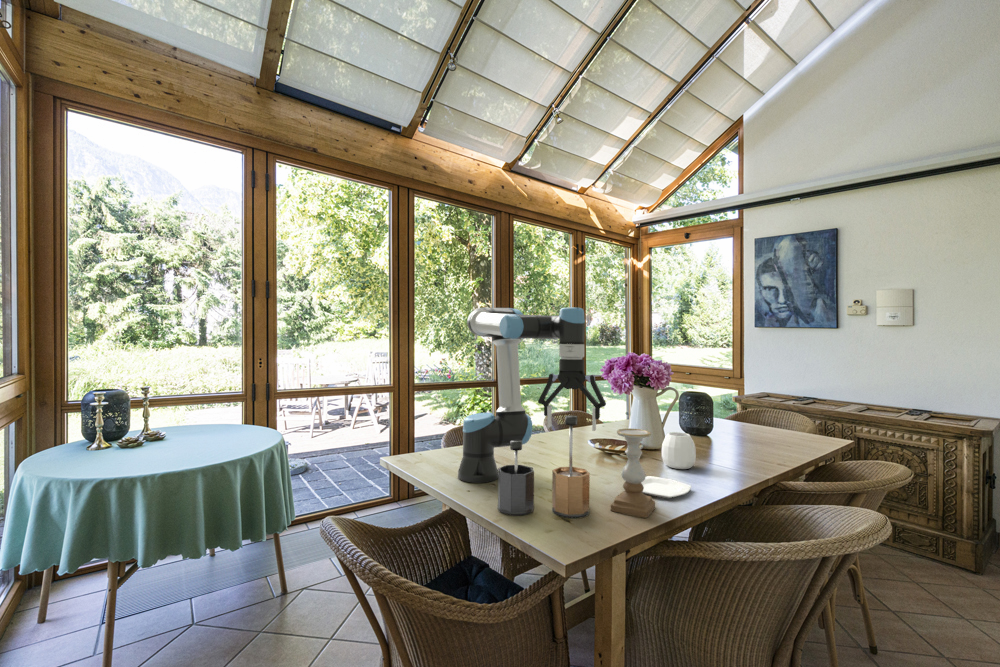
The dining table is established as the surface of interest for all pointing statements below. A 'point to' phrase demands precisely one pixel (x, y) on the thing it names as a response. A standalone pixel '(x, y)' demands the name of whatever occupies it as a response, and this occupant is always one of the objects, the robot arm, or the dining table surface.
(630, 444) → the candle holder
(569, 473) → the copper plunger
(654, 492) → the plate
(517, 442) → the steel plunger
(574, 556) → the dining table surface
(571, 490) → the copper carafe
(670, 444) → the cup
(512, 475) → the steel carafe
